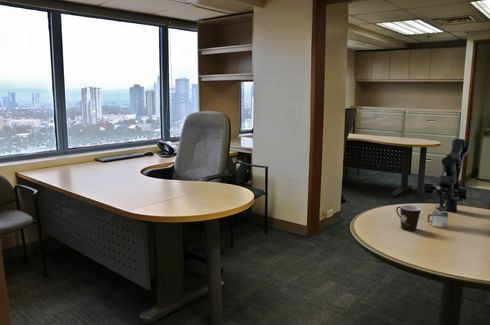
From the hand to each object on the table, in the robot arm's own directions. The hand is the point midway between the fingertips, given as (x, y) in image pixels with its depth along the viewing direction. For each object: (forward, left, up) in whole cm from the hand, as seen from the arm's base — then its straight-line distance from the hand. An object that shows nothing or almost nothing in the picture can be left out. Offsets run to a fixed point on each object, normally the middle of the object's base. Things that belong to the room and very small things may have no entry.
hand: (441, 205), depth 185 cm
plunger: (0, 0, -8) cm, 8 cm away
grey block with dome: (0, 0, -10) cm, 10 cm away
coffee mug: (+11, -13, -10) cm, 20 cm away
